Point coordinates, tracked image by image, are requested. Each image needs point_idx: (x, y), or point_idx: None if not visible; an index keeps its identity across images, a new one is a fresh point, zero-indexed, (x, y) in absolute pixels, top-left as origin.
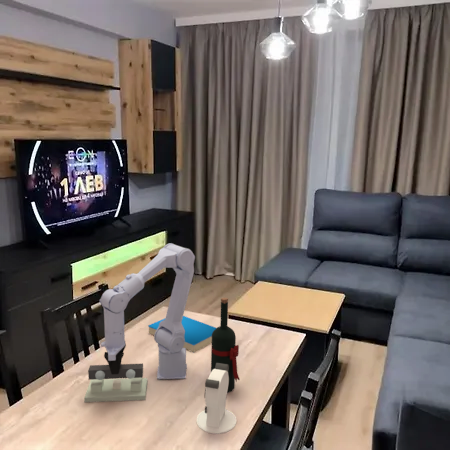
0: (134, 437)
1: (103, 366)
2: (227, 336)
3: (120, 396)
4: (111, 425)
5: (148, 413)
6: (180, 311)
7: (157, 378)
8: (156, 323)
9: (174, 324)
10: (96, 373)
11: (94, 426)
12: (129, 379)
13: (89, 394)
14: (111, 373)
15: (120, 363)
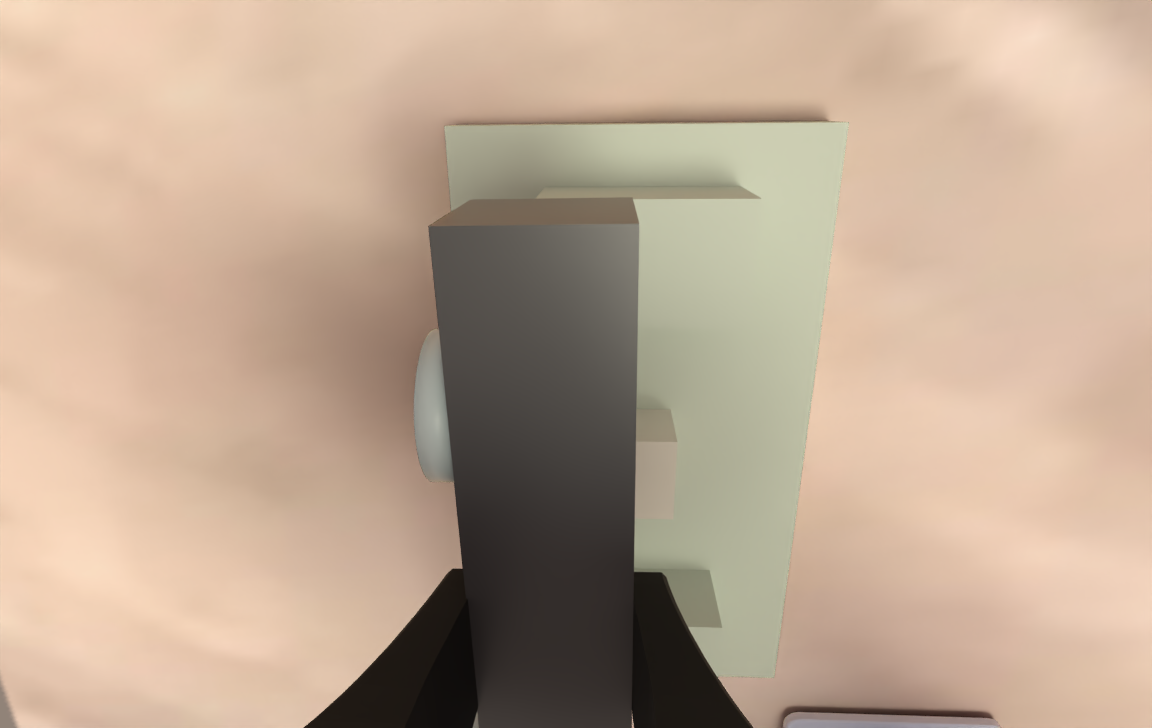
0: (48, 592)
1: (578, 480)
2: None
3: None
4: (142, 433)
5: (325, 661)
6: None
7: (789, 720)
8: None
9: None
10: (421, 369)
11: (100, 301)
12: (772, 540)
13: (509, 176)
14: (446, 575)
15: (633, 719)
